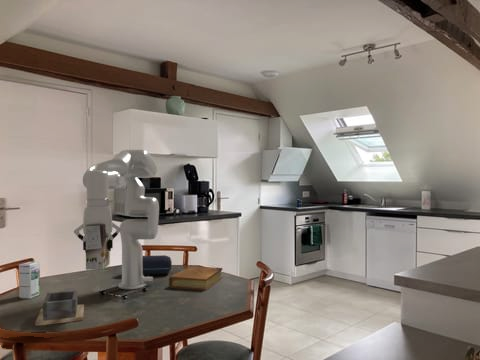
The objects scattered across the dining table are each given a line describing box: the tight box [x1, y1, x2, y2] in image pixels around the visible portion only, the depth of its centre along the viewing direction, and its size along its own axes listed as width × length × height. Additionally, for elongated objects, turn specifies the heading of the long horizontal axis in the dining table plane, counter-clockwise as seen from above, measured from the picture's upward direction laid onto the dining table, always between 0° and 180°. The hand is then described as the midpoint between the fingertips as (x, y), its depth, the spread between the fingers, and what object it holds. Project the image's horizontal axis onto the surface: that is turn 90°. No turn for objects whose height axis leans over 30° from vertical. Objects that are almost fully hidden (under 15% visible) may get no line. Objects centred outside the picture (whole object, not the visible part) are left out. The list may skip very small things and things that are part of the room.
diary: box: [168, 265, 223, 291], centre depth 185 cm, size 23×19×6 cm
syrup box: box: [18, 261, 41, 299], centre depth 163 cm, size 6×6×14 cm
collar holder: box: [34, 289, 85, 327], centre depth 139 cm, size 15×15×7 cm
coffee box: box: [85, 224, 111, 271], centre depth 140 cm, size 9×6×16 cm
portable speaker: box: [143, 255, 173, 276], centre depth 202 cm, size 25×10×10 cm, turn 95°
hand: (98, 250), depth 140 cm, fingers closed on coffee box, 7 cm apart
